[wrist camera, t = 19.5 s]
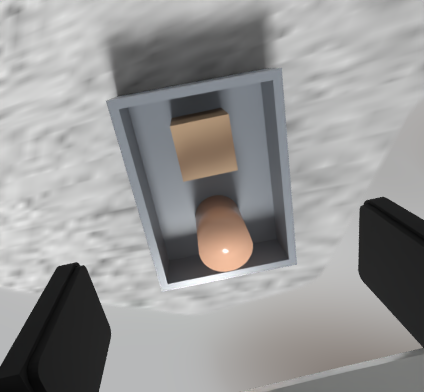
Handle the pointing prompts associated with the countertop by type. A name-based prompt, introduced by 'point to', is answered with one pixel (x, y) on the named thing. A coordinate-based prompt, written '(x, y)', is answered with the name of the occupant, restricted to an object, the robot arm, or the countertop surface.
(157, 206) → the tote
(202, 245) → the terracotta cylinder
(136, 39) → the countertop surface
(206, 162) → the walnut cube
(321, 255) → the countertop surface
